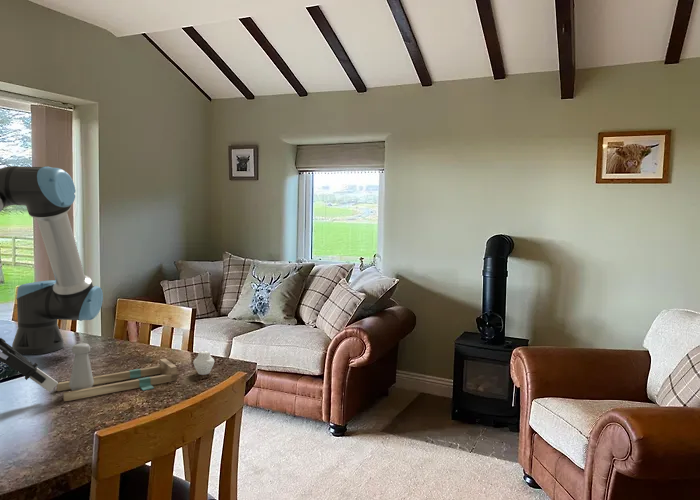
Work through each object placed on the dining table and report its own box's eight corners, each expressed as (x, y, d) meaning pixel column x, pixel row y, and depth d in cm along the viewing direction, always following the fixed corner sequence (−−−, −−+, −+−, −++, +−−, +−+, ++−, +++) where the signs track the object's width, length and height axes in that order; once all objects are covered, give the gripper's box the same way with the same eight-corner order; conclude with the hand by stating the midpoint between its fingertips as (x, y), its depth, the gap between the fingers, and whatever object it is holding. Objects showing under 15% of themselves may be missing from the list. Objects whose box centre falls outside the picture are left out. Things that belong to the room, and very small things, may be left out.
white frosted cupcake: (216, 374, 156) (216, 352, 155) (195, 377, 153) (196, 354, 152) (211, 368, 161) (211, 346, 161) (191, 371, 158) (191, 349, 158)
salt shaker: (83, 396, 135) (82, 348, 134) (64, 394, 137) (63, 346, 136) (98, 389, 141) (97, 342, 140) (80, 387, 142) (79, 340, 141)
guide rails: (55, 386, 142) (54, 372, 142) (161, 368, 160) (161, 355, 160) (66, 405, 129) (66, 389, 129) (180, 383, 148) (180, 369, 147)
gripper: (-43, 336, 125) (38, 391, 137) (-41, 349, 115) (45, 407, 127) (-16, 313, 128) (60, 368, 140) (-12, 323, 118) (70, 382, 129)
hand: (53, 386), depth 133 cm, fingers closed
